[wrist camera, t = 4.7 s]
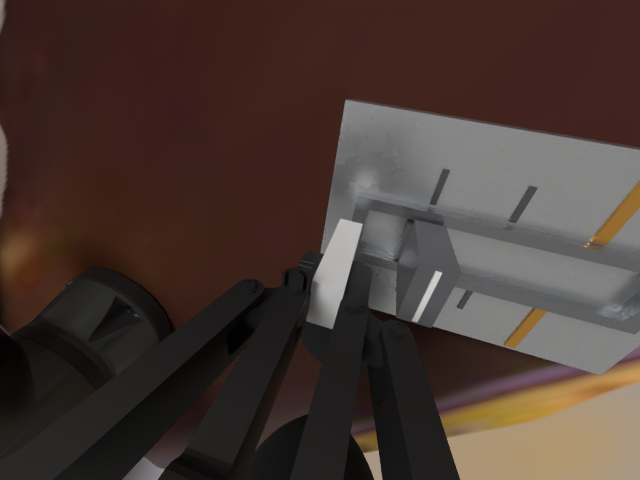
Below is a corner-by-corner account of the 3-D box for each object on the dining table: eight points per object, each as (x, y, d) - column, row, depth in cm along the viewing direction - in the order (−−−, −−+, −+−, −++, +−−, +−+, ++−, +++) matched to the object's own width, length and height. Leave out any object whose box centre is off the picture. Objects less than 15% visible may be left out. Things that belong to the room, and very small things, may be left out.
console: (319, 278, 26) (311, 299, 23) (350, 98, 17) (342, 100, 15) (585, 353, 22) (609, 387, 20) (793, 173, 14) (880, 192, 11)
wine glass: (406, 363, 29) (416, 742, 12) (329, 374, 34) (260, 655, 17) (362, 296, 25) (294, 686, 9) (284, 318, 30) (144, 598, 14)
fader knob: (394, 258, 20) (392, 318, 15) (410, 212, 18) (415, 263, 13) (425, 266, 20) (435, 330, 14) (446, 220, 17) (466, 276, 12)
